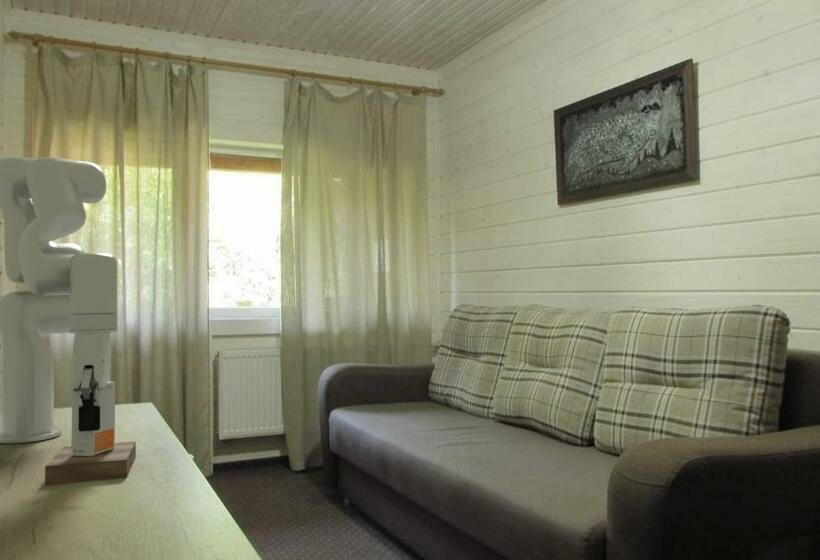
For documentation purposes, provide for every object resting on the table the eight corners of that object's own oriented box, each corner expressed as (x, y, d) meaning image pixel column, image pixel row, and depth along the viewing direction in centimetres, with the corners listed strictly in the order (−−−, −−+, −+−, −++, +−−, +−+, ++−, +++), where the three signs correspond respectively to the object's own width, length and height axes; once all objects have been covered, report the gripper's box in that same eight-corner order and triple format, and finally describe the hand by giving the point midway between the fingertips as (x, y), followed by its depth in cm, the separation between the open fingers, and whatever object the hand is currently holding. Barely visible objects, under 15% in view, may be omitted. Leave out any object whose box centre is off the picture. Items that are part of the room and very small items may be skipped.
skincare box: (92, 457, 107) (92, 385, 107) (70, 456, 108) (70, 385, 108) (116, 448, 113) (116, 381, 113) (95, 447, 114) (95, 380, 114)
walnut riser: (63, 463, 115) (63, 446, 115) (135, 457, 118) (135, 441, 118) (44, 485, 101) (45, 466, 101) (126, 477, 105) (126, 459, 105)
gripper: (79, 322, 118) (79, 418, 117) (58, 326, 101) (58, 438, 101) (123, 321, 120) (123, 415, 120) (110, 325, 103) (110, 434, 103)
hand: (93, 425), depth 110 cm, fingers open, 7 cm apart
